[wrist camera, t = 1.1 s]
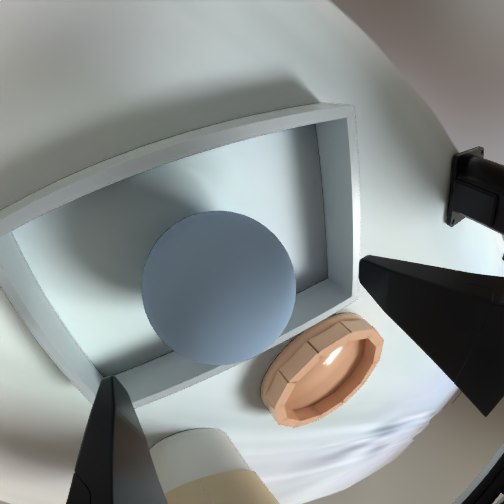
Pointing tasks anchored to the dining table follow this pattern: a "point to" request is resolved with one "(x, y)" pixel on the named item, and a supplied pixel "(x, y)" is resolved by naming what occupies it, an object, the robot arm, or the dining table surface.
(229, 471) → the coffee cup
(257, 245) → the ball
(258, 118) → the shallow serving tray
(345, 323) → the bowl
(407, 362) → the dining table surface
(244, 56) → the dining table surface
